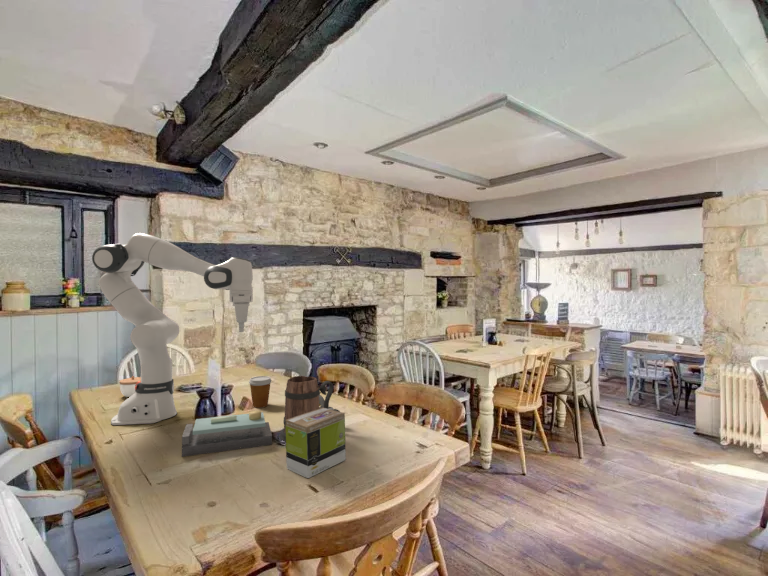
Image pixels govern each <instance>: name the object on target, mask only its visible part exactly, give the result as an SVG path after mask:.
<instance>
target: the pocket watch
mask: <svg viewBox="0 0 768 576" xmlns="http://www.w3.org/2000/svg"><path fill="white" fill-rule="evenodd" d="M321 394H322V393H321V391H319V409H320V408H323V407H324V402H325V397H324V396H322V395H321ZM328 409H330V410H333V409H334V408H333V407H332V406H329V407H328Z"/></svg>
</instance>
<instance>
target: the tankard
mask: <svg viewBox="0 0 768 576" xmlns="http://www.w3.org/2000/svg"><path fill="white" fill-rule="evenodd" d="M327 385H328V391H327ZM334 387H335V386H334V384H333V383H332V381H329V380H325V381H323V382H322V383H321V384H320V386H319V383H318V379H317V377H314V376H305V375H296V376H292V377H290V378H288V379H287V382H286V387H285V390H284V397H285V399H284V416H283V428H282V429H281V431H280V433H279V434H280V435H279V434H278V435H279V437H280V439H281V440H283V441H285V442H286V420H287V419H290V418H293V417H296V416H299V415H302V414H305V413H308V412H311V411H314V410H317V409H319V407H320V406H319V391H321V393H320V394H322V395H324V396H325V397H324V400H325V402H324V408H327V409H328V407H330V405H329V403H330V400H331V398H332V395H333V393H334V389H335V388H334ZM333 410H334V411H338V412H341V411H340V410H339V409H337V408H333Z"/></svg>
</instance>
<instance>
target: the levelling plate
mask: <svg viewBox="0 0 768 576" xmlns="http://www.w3.org/2000/svg"><path fill="white" fill-rule="evenodd" d="M265 422H266V420H265V416H264V411H261V410H252V411H249V413H242V414H232V415H224V416H213V417H212V416H211V417H202V418H196V419H195V422H194V424H193V435H197V434H206V433H214V432H223V431H232V430H240V429H249V428H257V427H265Z"/></svg>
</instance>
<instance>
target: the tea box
mask: <svg viewBox="0 0 768 576" xmlns="http://www.w3.org/2000/svg"><path fill="white" fill-rule="evenodd" d="M345 418H346V416H345V412H341V411H340V412H338V411H334V410H330V409H327V408H324V407H323V408H320V409H317V410H314V411H311V412H308V413H305V414H302V415H299V416H296V417H293V418H290V419H287V420H286V443H285V457H286V462H285V464H286V469H287V470H289V471H290V472H293V473H295V474H297V475H298V476H299V475H300V476H301V477H304V478H305V479H309V478H312V477H314V476H316V475H318V474H320V473H321V472H324V471H326V470H328V469H330V468H332V467H334V466H336V465H338V464H340V463H343V462H344V461H346V460H347V458H346V457H347V455H346V453H347V452H346V451H347V450H346V420H345Z"/></svg>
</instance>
